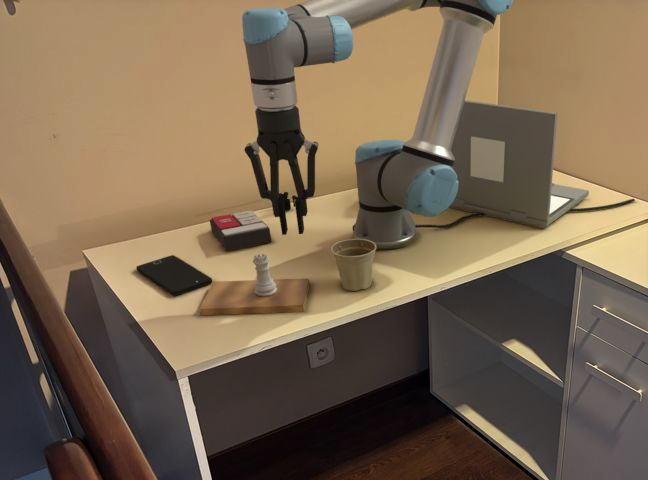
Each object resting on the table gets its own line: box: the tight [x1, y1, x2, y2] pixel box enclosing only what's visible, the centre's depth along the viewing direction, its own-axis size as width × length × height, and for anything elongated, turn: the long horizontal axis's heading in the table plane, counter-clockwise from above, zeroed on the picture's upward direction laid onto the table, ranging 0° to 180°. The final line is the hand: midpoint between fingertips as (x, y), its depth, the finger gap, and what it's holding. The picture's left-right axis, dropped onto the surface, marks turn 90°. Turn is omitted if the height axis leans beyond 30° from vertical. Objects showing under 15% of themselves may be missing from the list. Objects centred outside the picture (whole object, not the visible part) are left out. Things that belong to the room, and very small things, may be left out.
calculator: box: [209, 210, 272, 252], centre depth 167 cm, size 11×4×15 cm
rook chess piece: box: [252, 253, 277, 297], centre depth 137 cm, size 4×4×8 cm
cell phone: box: [135, 254, 213, 296], centre depth 148 cm, size 9×18×1 cm, turn 46°
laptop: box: [448, 99, 590, 229], centre depth 180 cm, size 35×26×28 cm
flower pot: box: [330, 238, 377, 292], centre depth 143 cm, size 9×9×9 cm
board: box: [199, 277, 311, 316], centre depth 139 cm, size 20×12×2 cm, turn 94°
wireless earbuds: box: [279, 191, 297, 212], centre depth 181 cm, size 7×2×5 cm, turn 131°
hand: (293, 231), depth 133 cm, fingers open, 2 cm apart
